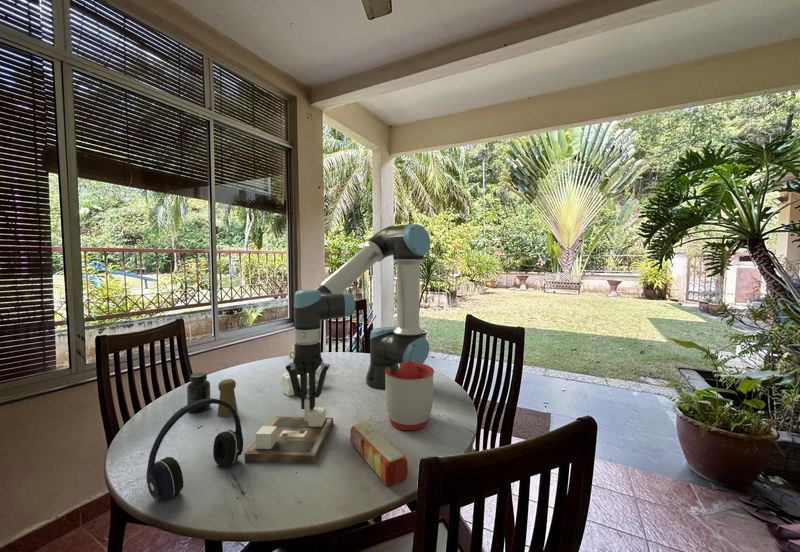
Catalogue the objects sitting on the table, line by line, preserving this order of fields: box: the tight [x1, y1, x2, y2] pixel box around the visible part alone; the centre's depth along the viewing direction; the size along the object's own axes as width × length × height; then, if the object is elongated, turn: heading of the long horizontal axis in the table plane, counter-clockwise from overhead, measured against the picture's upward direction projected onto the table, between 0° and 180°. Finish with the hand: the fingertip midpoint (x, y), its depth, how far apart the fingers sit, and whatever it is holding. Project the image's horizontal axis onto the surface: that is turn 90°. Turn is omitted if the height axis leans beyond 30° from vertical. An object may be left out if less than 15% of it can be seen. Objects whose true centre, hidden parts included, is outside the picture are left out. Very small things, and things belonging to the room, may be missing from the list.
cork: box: [217, 378, 238, 418], centre depth 111 cm, size 6×6×11 cm
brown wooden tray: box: [244, 416, 334, 464], centre depth 95 cm, size 18×20×2 cm
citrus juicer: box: [384, 360, 435, 431], centre depth 106 cm, size 16×17×20 cm
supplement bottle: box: [186, 372, 212, 414], centre depth 114 cm, size 7×7×12 cm
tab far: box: [308, 406, 326, 427], centre depth 100 cm, size 4×4×4 cm
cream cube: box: [255, 425, 277, 449], centre depth 89 cm, size 4×4×4 cm
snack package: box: [349, 421, 409, 487], centre depth 85 cm, size 21×7×7 cm, turn 31°
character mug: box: [288, 343, 300, 375], centre depth 149 cm, size 11×7×13 cm, turn 136°
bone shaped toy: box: [280, 367, 321, 397], centre depth 131 cm, size 15×9×8 cm, turn 136°
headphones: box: [145, 397, 244, 500], centre depth 78 cm, size 20×7×18 cm, turn 148°
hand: (308, 419), depth 101 cm, fingers closed
